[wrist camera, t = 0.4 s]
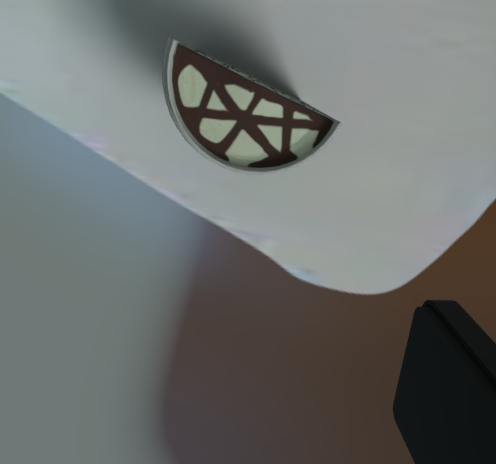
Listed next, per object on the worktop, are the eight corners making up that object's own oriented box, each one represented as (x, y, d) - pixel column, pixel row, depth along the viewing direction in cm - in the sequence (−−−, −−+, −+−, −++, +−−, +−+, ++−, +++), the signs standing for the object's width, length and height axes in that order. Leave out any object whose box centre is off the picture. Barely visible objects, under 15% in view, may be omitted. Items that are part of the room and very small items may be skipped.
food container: (151, 112, 36) (128, 133, 27) (179, 39, 35) (164, 34, 25) (283, 173, 39) (302, 210, 30) (316, 108, 37) (348, 126, 28)
